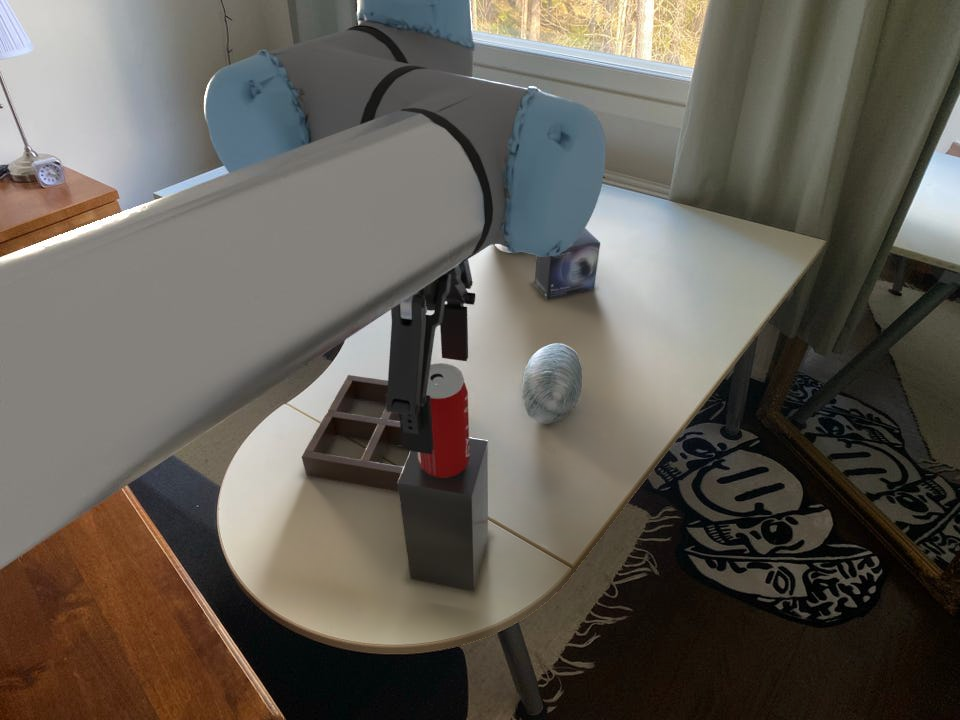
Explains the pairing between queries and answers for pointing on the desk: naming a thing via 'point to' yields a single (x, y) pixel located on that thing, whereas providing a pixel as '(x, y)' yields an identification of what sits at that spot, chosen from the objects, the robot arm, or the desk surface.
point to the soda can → (447, 422)
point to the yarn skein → (552, 383)
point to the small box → (569, 268)
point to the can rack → (358, 428)
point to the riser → (446, 520)
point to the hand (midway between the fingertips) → (438, 400)
